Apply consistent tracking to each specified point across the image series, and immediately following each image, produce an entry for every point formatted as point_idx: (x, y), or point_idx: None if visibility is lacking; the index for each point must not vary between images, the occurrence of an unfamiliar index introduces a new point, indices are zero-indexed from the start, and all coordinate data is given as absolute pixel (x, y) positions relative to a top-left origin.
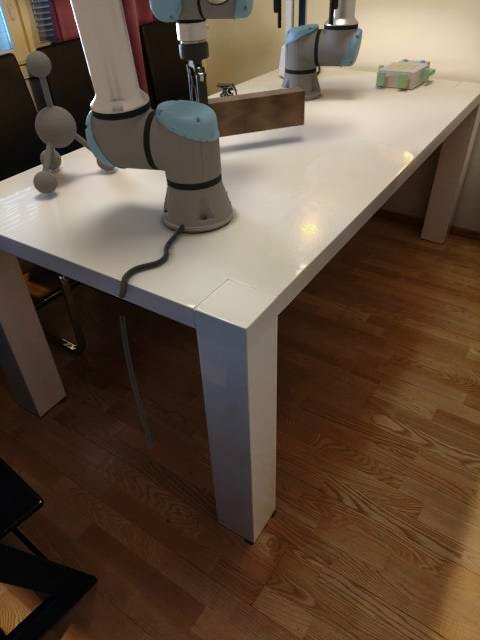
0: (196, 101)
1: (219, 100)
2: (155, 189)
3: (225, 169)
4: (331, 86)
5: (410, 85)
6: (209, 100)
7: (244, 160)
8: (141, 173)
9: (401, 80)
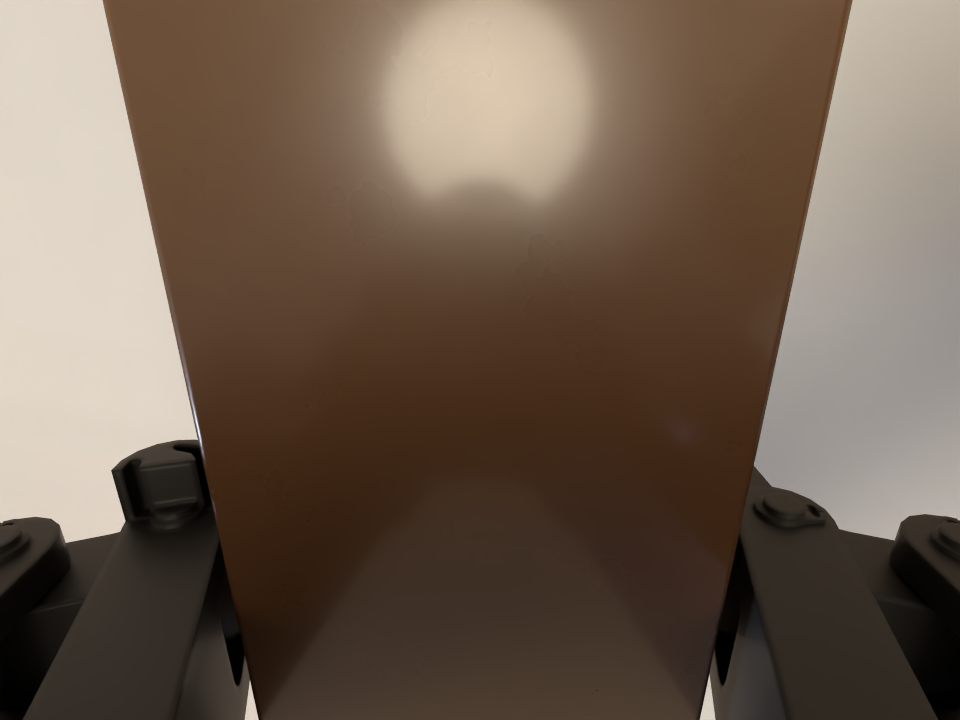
0: (368, 709)
1: (587, 162)
2: None
3: (934, 250)
4: None
5: None
6: (418, 447)
7: (848, 19)
8: None
9: None
